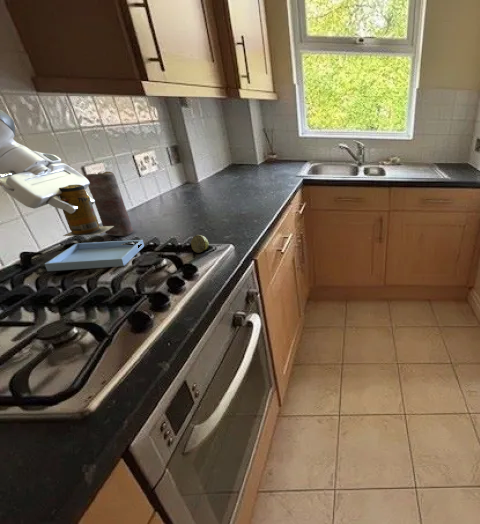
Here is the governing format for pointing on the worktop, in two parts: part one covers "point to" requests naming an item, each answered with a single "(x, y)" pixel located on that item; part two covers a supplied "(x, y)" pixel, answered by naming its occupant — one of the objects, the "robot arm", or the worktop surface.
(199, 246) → the lime
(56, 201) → the robot arm
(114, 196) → the candle
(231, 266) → the worktop surface
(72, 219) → the condiment
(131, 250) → the blue tray
